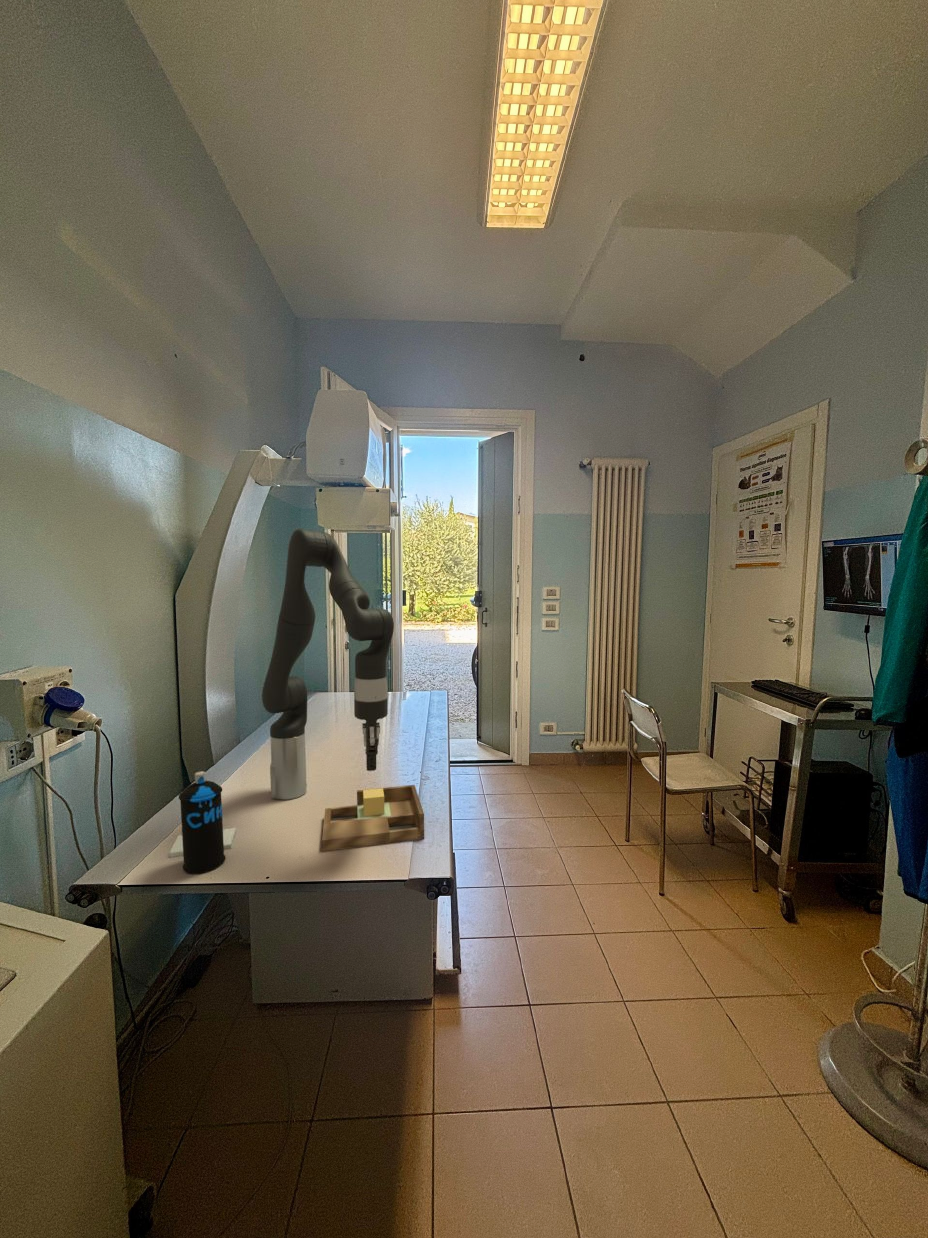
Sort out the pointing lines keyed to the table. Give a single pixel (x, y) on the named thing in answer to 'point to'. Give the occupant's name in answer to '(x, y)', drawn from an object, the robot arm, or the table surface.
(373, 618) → the robot arm
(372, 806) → the block
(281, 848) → the table surface
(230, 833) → the external hard drive
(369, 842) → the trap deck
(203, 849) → the aerosol can
